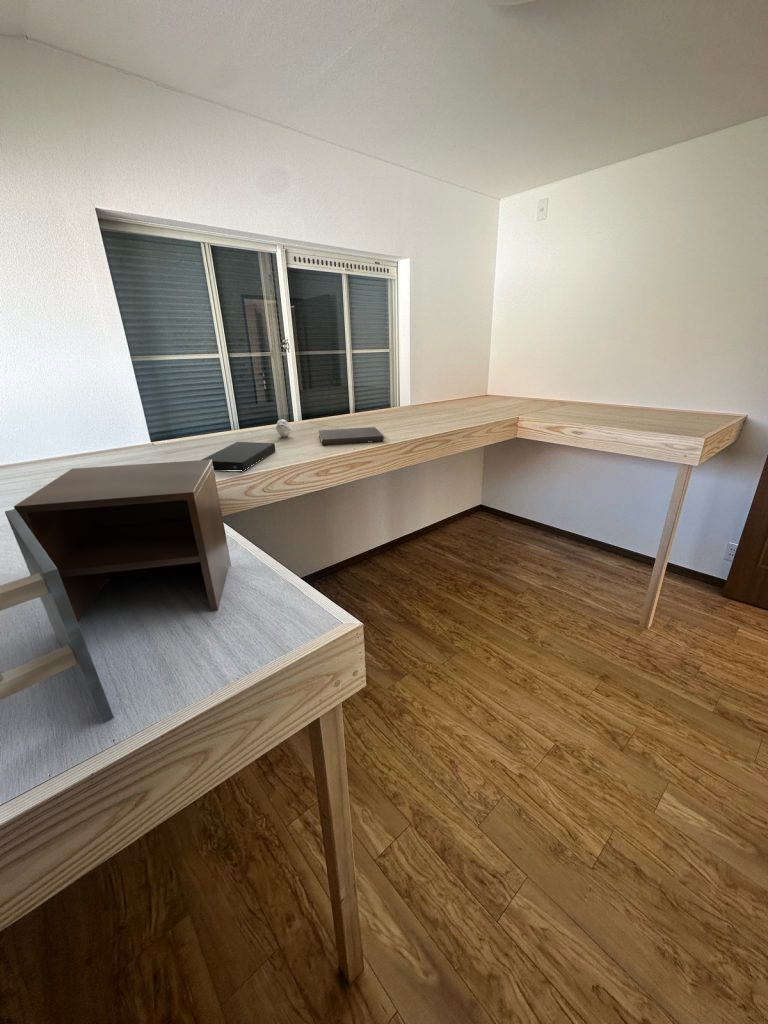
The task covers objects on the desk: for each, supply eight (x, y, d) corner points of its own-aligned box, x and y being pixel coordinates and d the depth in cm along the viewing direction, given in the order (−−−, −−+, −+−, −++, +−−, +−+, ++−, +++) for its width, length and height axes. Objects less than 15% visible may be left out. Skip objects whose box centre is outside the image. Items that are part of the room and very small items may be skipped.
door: (25, 780, 39) (-69, 609, 31) (-7, 673, 51) (-80, 530, 43) (117, 727, 44) (57, 568, 36) (68, 640, 57) (15, 508, 49)
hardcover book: (318, 435, 166) (318, 430, 165) (375, 432, 170) (375, 426, 169) (322, 445, 151) (321, 439, 151) (383, 441, 156) (383, 435, 155)
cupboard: (219, 619, 61) (193, 492, 53) (66, 639, 57) (13, 506, 49) (231, 567, 74) (212, 459, 66) (108, 581, 70) (71, 468, 62)
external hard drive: (275, 451, 145) (274, 443, 144) (243, 472, 124) (242, 462, 123) (237, 450, 147) (236, 441, 146) (200, 470, 126) (198, 460, 125)
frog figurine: (274, 438, 162) (272, 421, 159) (279, 434, 168) (277, 417, 166) (289, 438, 162) (288, 421, 159) (294, 434, 168) (292, 417, 165)
